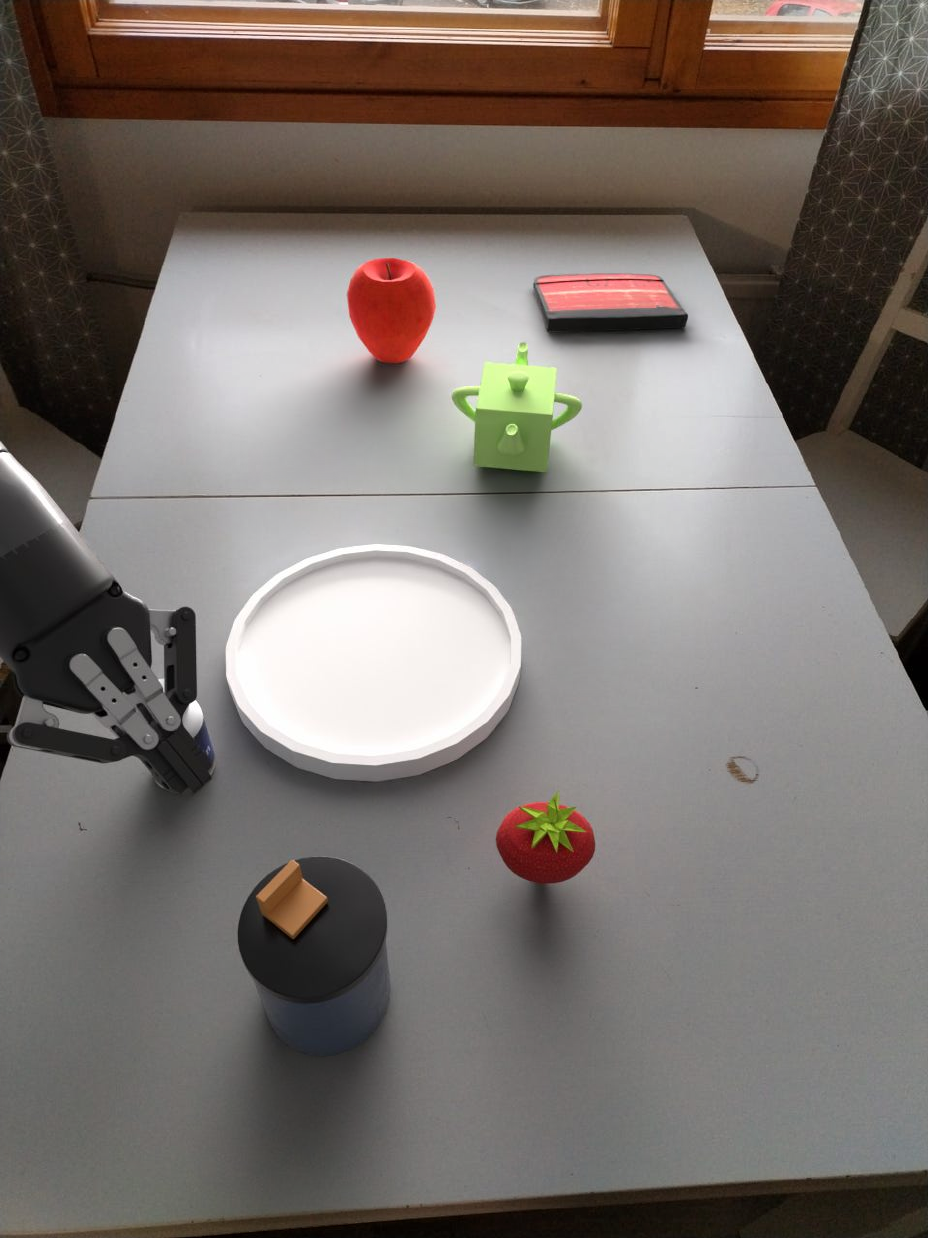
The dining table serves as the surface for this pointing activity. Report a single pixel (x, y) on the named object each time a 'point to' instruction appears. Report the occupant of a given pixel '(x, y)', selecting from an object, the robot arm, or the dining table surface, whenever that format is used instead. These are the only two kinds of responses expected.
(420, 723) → the plate
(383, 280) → the apple
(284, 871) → the orange l-shaped block
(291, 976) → the travel cup
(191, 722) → the pill bottle
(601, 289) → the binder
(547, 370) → the teapot
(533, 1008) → the dining table surface
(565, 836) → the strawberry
